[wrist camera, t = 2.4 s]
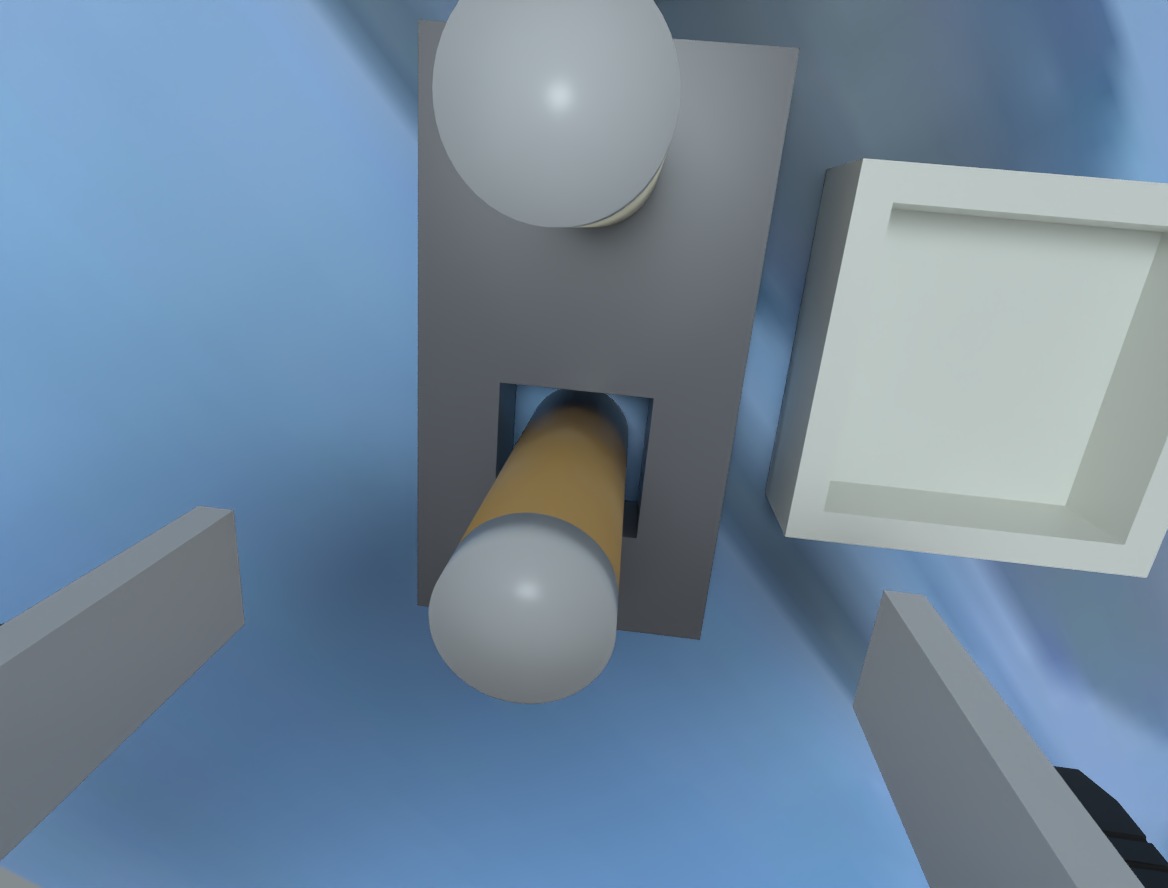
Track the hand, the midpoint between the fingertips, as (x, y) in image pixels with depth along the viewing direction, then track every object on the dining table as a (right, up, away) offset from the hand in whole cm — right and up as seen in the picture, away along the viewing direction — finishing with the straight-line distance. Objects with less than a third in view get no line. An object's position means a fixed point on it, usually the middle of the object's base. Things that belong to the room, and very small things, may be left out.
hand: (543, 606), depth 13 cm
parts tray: (+13, +6, +8) cm, 17 cm away
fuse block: (+1, +6, +9) cm, 12 cm away
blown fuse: (+1, +4, +10) cm, 11 cm away
